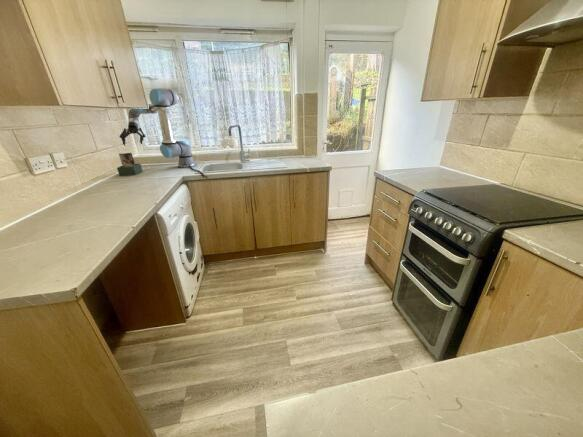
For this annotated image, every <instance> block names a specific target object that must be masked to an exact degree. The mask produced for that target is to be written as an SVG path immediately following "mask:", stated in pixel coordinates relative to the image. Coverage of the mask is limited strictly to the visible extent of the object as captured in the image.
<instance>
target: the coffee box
mask: <svg viewBox="0 0 583 437" xmlns="http://www.w3.org/2000/svg"><path fill="white" fill-rule="evenodd" d="M118 156H119V159H120V162H121V166H123V167H133V166H135V164H136V163H135V159H134V156H133V154H132V152H125V153H123V152H122V153H118Z"/></svg>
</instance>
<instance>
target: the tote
mask: <svg viewBox="0 0 583 437" xmlns="http://www.w3.org/2000/svg"><path fill="white" fill-rule="evenodd" d="M116 170H117V172H118V175H119V177H125V176H126V177H127V176H136V175H139V174H141V173H142V172H143V168H142V164H141V163H135V166H133V167H123V165H120V166H118V167H116Z"/></svg>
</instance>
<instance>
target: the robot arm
mask: <svg viewBox="0 0 583 437" xmlns="http://www.w3.org/2000/svg"><path fill="white" fill-rule="evenodd" d="M179 100H180V99H179V95H178V94H177V92H176V91H175V90H173V89H171V88H152V89H151V90H150V91H149V101H150V103H149V104H148V105H149V109H131V108H130V109H128V113H127V115H128V119H127V120H128V121H127V128H123V130H122V132H121V133H120V135H119V138H120V139H121V141H122V145H123V146H126V138H127V137H129V136H130V135H131V134H132V135H133V134H136V135H137V136H139V143H140V145H143V141H144V139H145V138H147V137H146V134H145V133H144V131H143V129H142V127H139V118H140V116H141V115H147V114H149V115H150V114H152V115H153V114H158V121H159V126H160V131H161V137H162V141H161V144H160V145H159V151H160V153H161V155H162V156H163V157H164V158H165V159H170V158H176V157H178V167H179V168H185V169H186V168H190V169H191V170H192V171H196V172H198V173H200V174H201V175H202V177H203V178H204V177H205V178H206V179H208V178H209V177H208V176H207V175H204V173H203V172H202V171H200V170H198V169H195V168H193V167H195V166H196V165H197V164H196V163H197V162H196V161H195V160H194V158H193V154H192V149H191V144H190V142H189V141H188V140H175V137H174V136H175V135H174V132H173V131H174V130H173V126H172V119H171V114H170V109H171V107H173V106H175V105H177V104H178V103H179ZM212 211H213V217H214V223H215V228H216V230H218V224H217V218H216V212H215V208H214V207H212Z"/></svg>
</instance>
